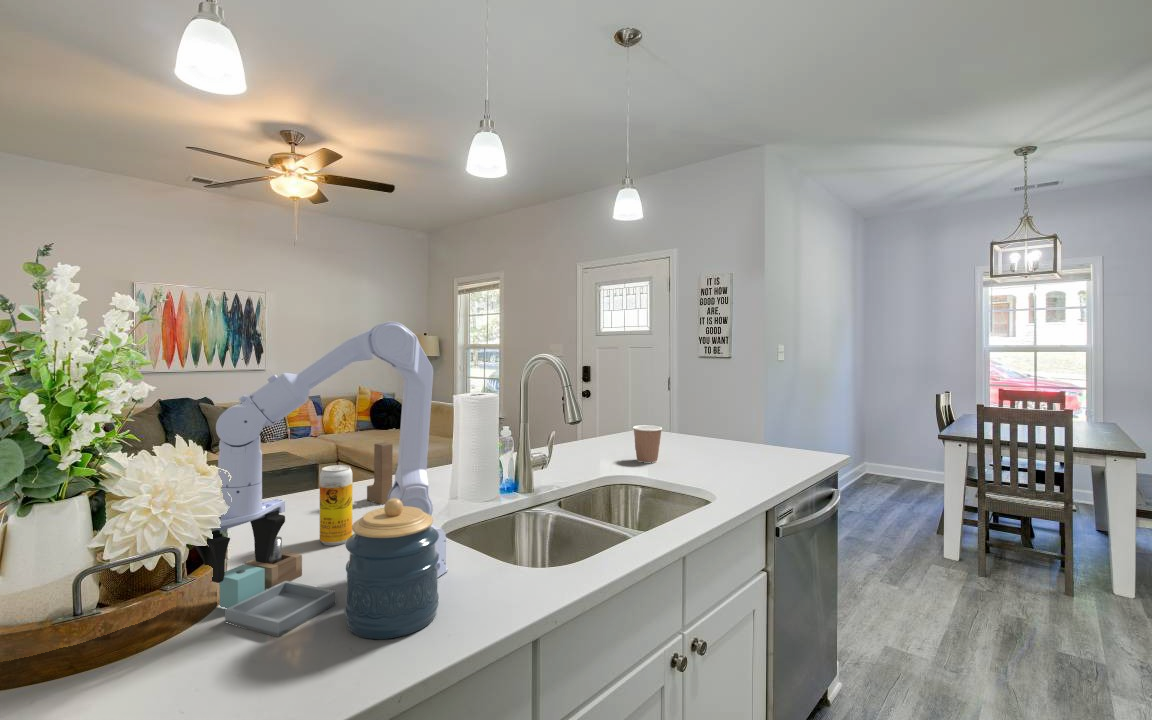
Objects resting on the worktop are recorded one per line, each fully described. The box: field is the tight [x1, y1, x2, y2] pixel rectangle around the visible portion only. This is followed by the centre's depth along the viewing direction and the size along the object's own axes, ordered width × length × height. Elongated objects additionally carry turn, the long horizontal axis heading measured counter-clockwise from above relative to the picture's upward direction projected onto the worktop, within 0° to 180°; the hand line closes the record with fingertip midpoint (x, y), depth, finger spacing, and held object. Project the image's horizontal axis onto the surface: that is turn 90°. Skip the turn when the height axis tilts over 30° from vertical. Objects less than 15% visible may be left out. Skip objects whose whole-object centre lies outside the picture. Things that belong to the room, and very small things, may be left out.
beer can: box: [319, 464, 353, 546], centre depth 109 cm, size 6×6×15 cm
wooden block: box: [366, 441, 394, 505], centre depth 138 cm, size 7×3×15 cm, turn 53°
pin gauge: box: [267, 536, 283, 564], centre depth 91 cm, size 2×2×7 cm
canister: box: [344, 498, 439, 640], centre depth 79 cm, size 13×13×18 cm
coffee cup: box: [632, 424, 663, 464], centre depth 190 cm, size 10×10×12 cm
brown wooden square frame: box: [244, 550, 303, 590], centre depth 91 cm, size 6×6×4 cm
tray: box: [224, 581, 337, 638], centre depth 80 cm, size 10×10×2 cm
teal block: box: [219, 563, 266, 608], centre depth 83 cm, size 4×4×5 cm
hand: (240, 570), depth 83 cm, fingers open, 7 cm apart
